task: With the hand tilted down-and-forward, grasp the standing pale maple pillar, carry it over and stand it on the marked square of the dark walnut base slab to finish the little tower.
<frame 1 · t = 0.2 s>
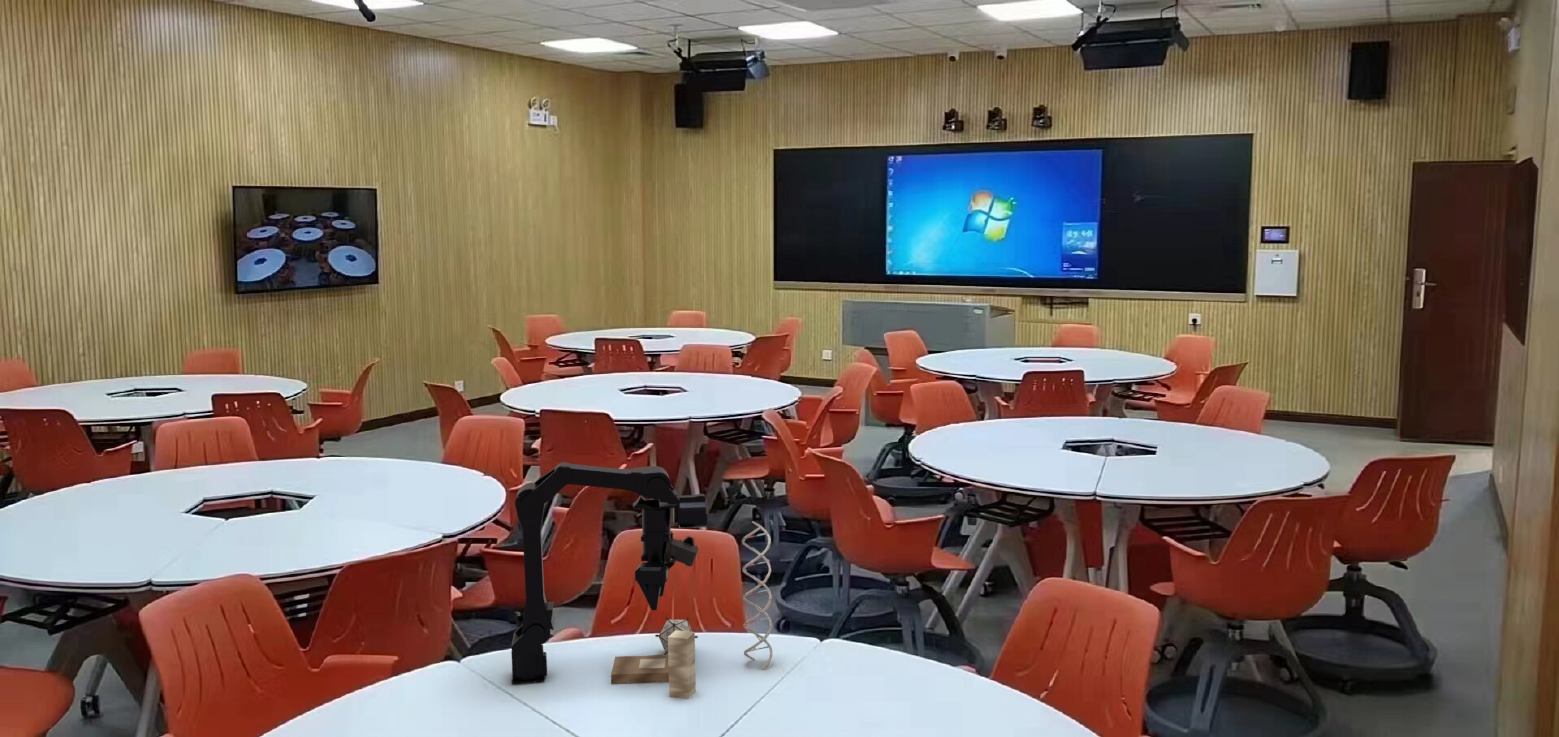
hand: (657, 602, 240), 14 cm above the table, tool pointing down, fingers open, 9 cm apart
walnut slab: (652, 673, 239), on the table
game die: (677, 655, 250), on the table
maple pillar: (682, 693, 228), on the table
dna model: (758, 665, 243), on the table
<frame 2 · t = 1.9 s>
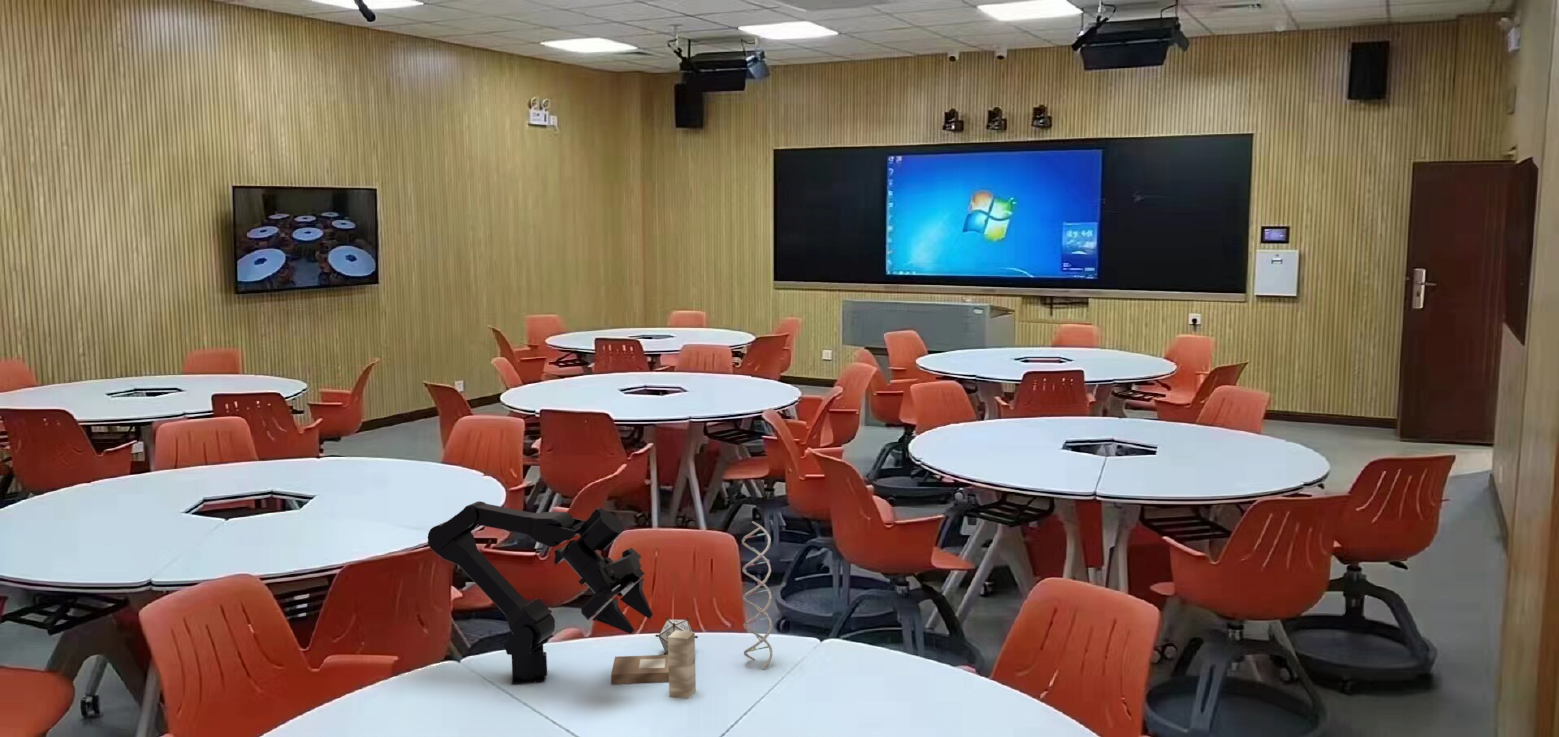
hand: (642, 624, 229), 13 cm above the table, tool tilted 45°, fingers open, 9 cm apart
nothing on the table moved.
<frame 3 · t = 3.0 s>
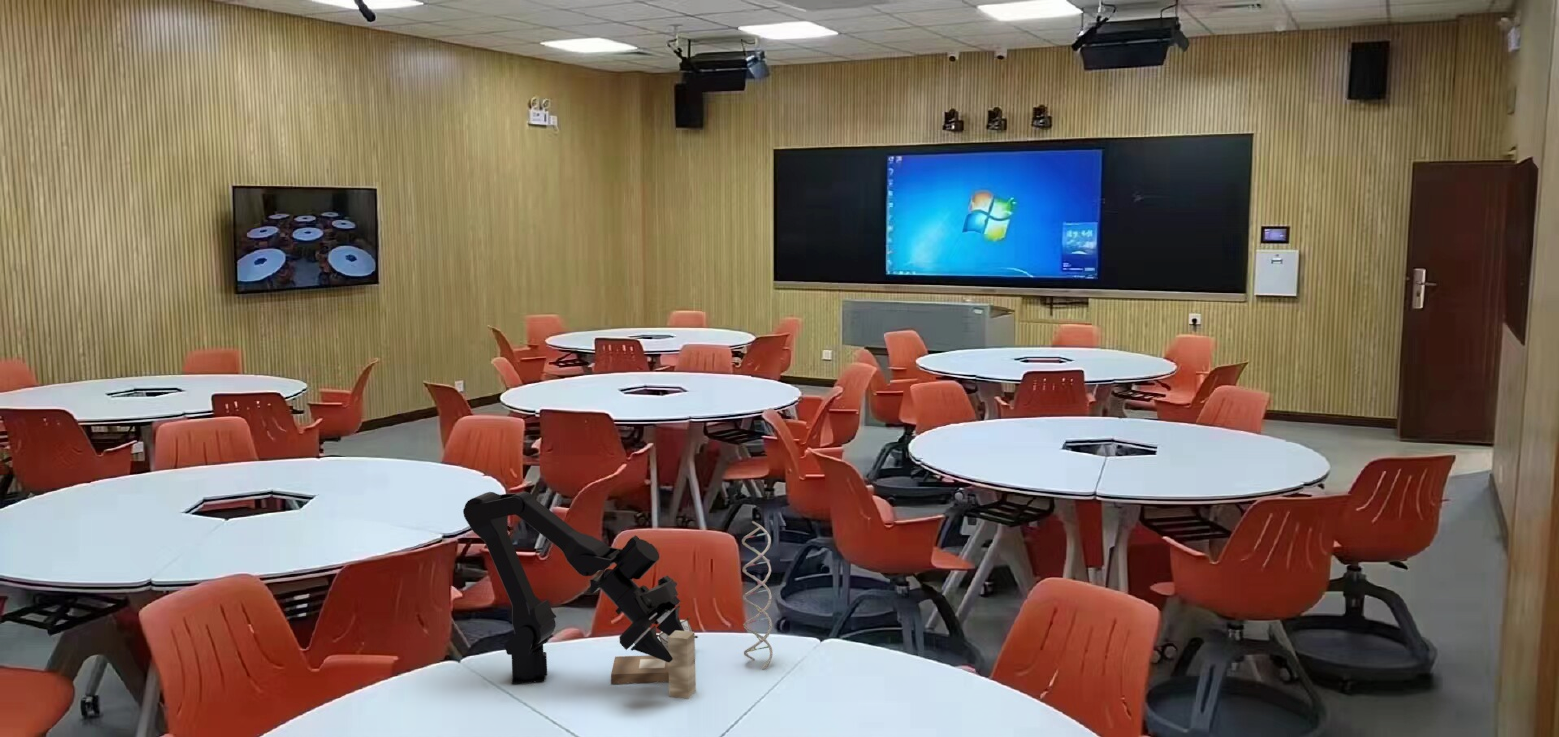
hand: (680, 652, 227), 8 cm above the table, tool tilted 45°, fingers open, 9 cm apart
nothing on the table moved.
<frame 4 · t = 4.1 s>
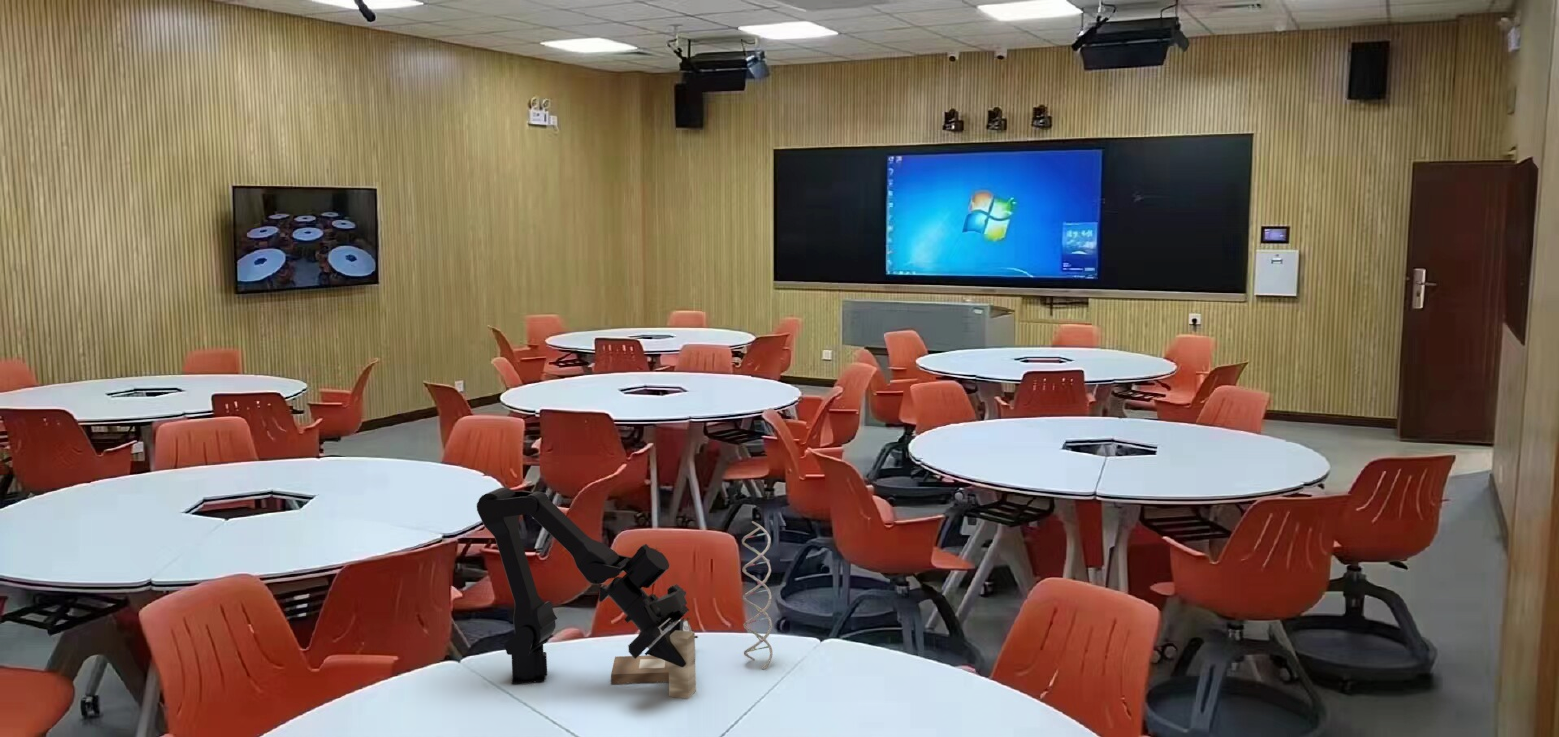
hand: (688, 661, 227), 7 cm above the table, tool tilted 45°, fingers closed on maple pillar, 4 cm apart
maple pillar: (682, 693, 228), on the table, touching gripper
everything else where it was.
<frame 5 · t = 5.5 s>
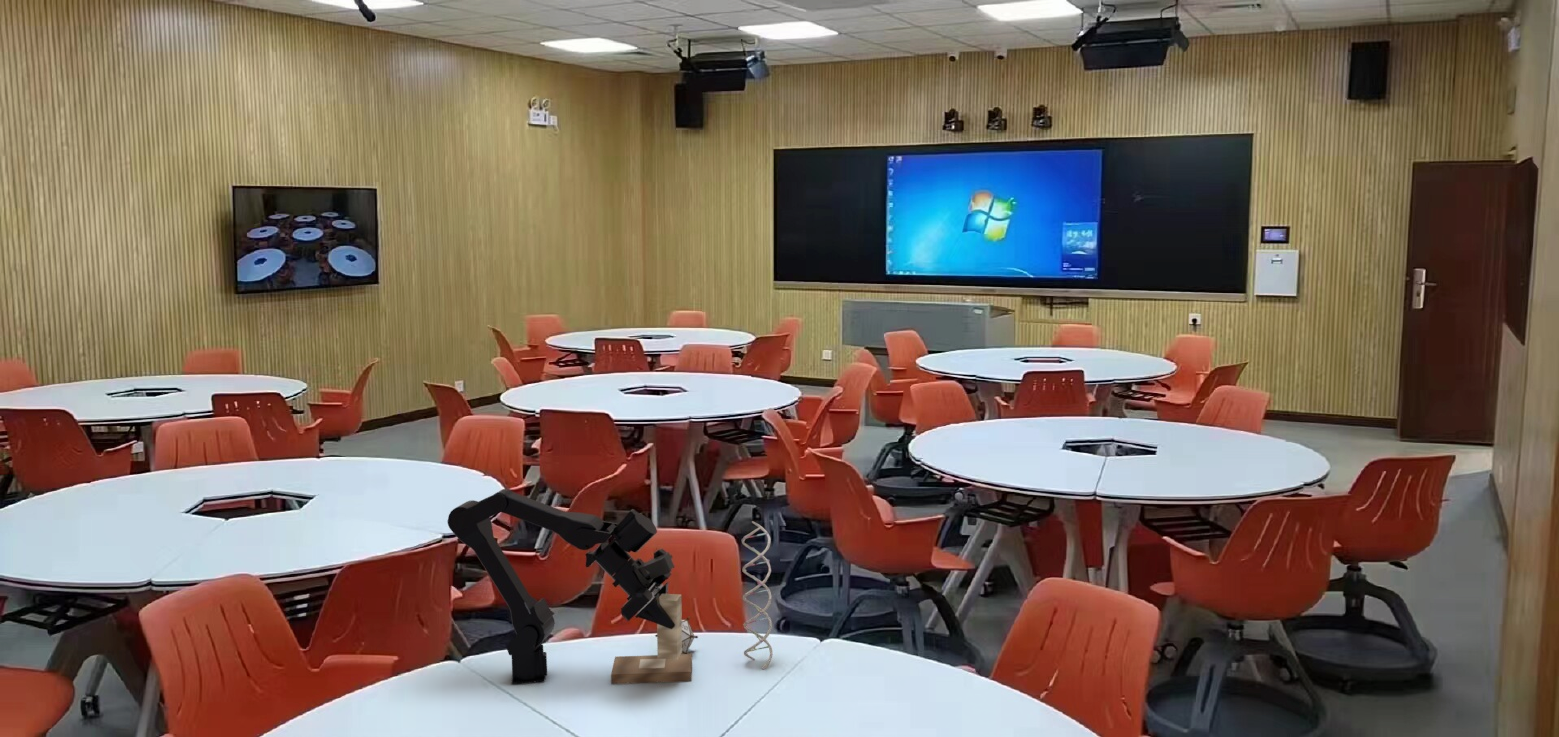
hand: (676, 623, 232), 12 cm above the table, tool tilted 45°, fingers closed on maple pillar, 4 cm apart
maple pillar: (669, 655, 233), point 6 cm above the table, touching gripper
everything else where it was.
when the fingers open (10 cm above the table, at t = 6.9 s): maple pillar drops 1 cm, resting on walnut slab.
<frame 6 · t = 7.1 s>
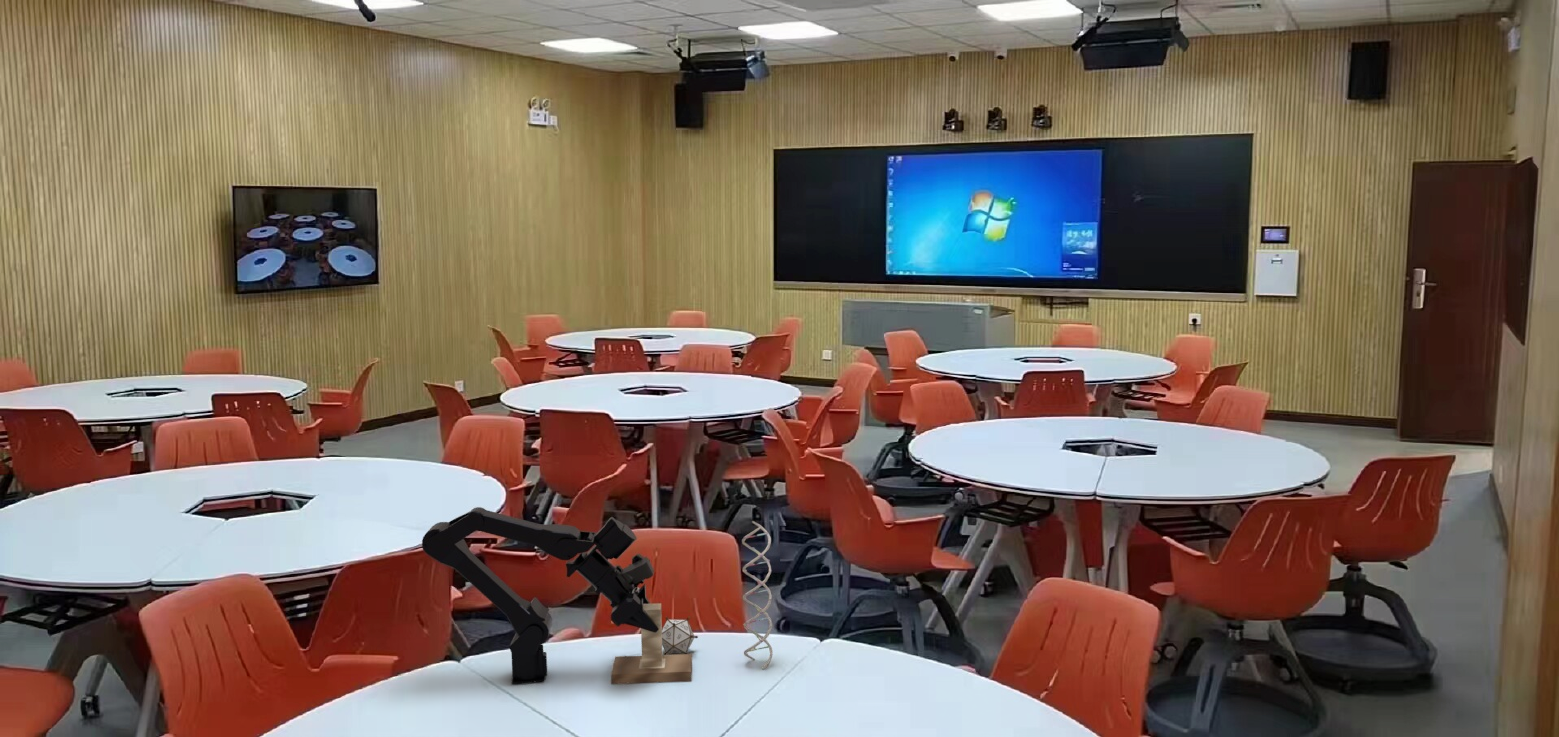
hand: (658, 625, 238), 10 cm above the table, tool tilted 45°, fingers open, 6 cm apart
maple pillar: (652, 663, 239), point 2 cm above the table, touching walnut slab
everything else where it was.
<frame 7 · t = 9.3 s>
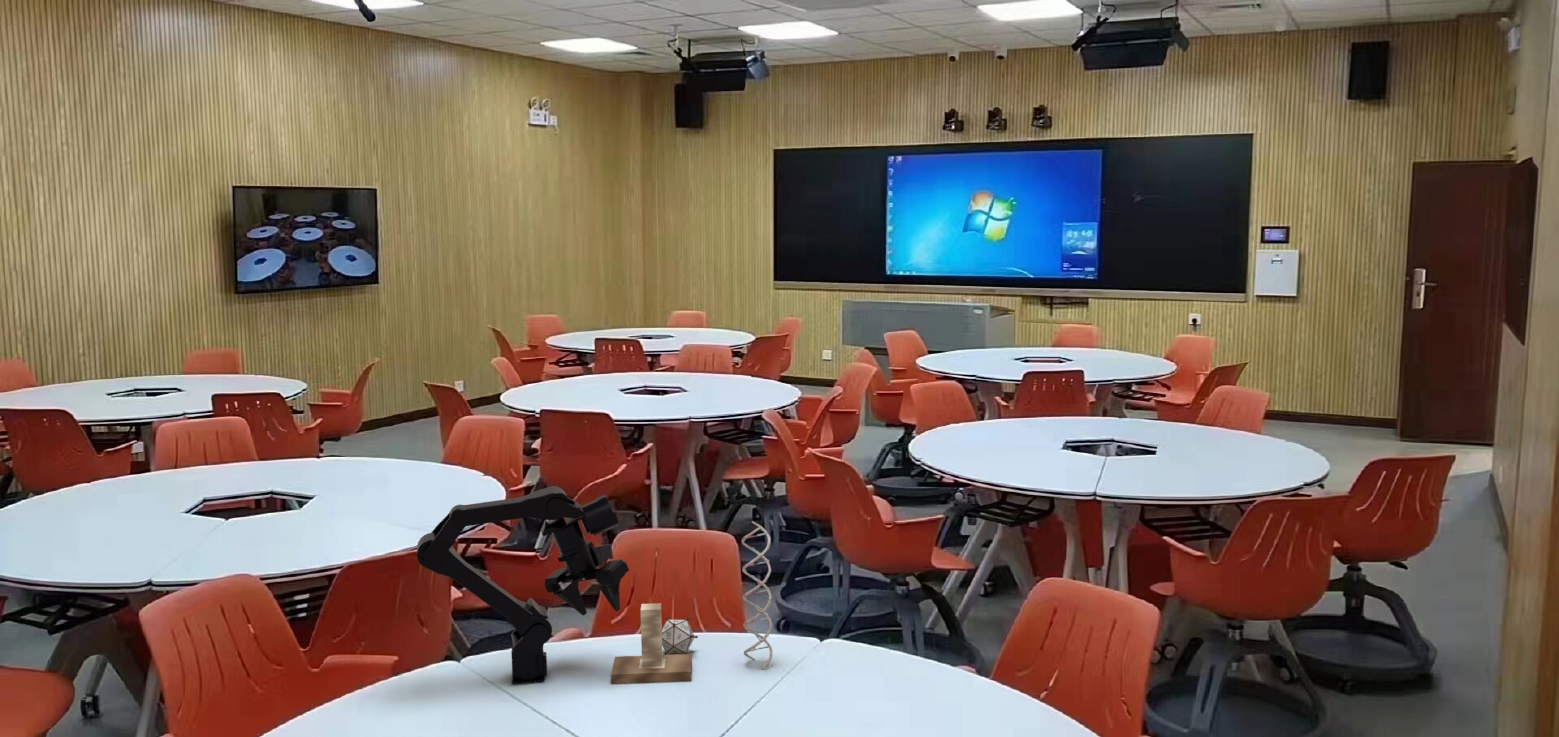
hand: (601, 612, 241), 12 cm above the table, tool tilted 20°, fingers open, 9 cm apart
nothing on the table moved.
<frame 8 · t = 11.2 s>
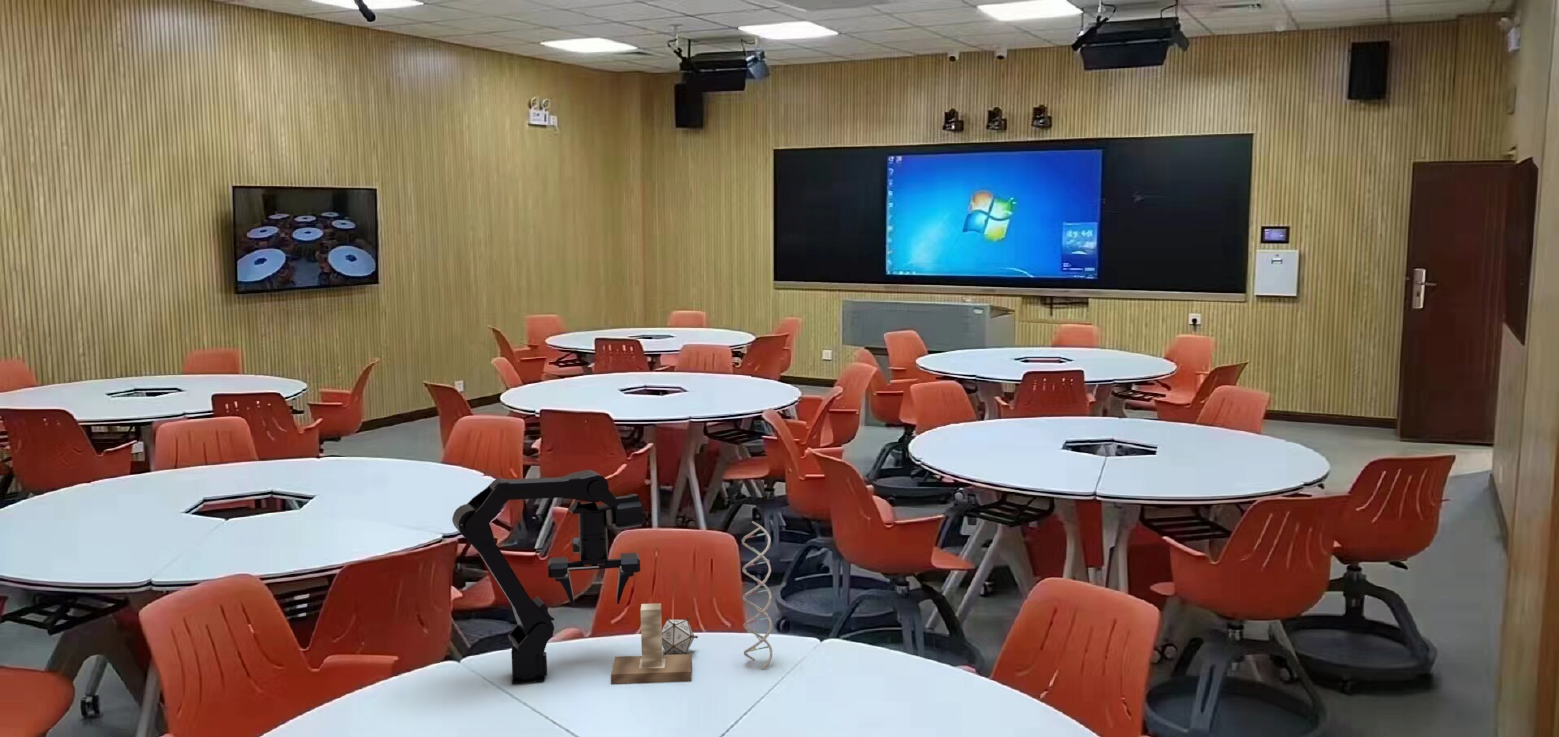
hand: (595, 605, 243), 13 cm above the table, tool pointing down, fingers open, 9 cm apart
nothing on the table moved.
at the end: maple pillar inside the target area (0.0 cm from its centre), point 2.1 cm above the table; maple pillar tilted 0°; the gripper is holding nothing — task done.
